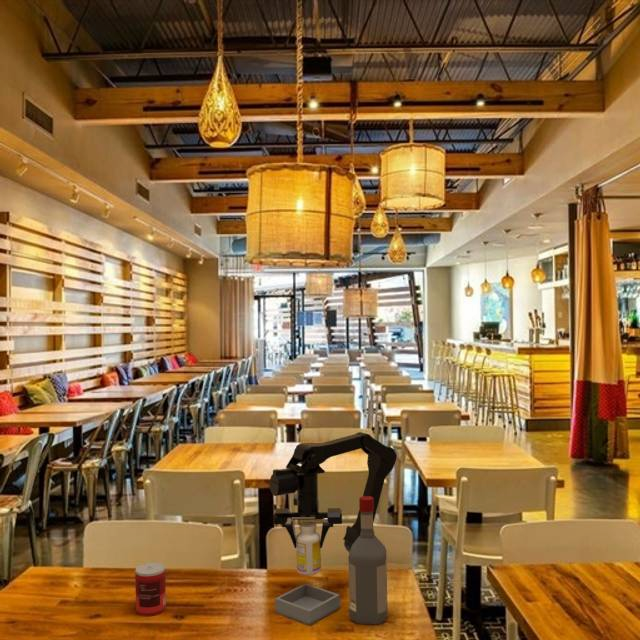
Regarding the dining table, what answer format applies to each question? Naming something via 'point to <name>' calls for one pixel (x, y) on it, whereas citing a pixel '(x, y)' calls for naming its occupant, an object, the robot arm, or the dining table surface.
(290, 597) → the tray
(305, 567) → the supplement bottle
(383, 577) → the liquor
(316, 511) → the robot arm
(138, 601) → the canned food
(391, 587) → the dining table surface
